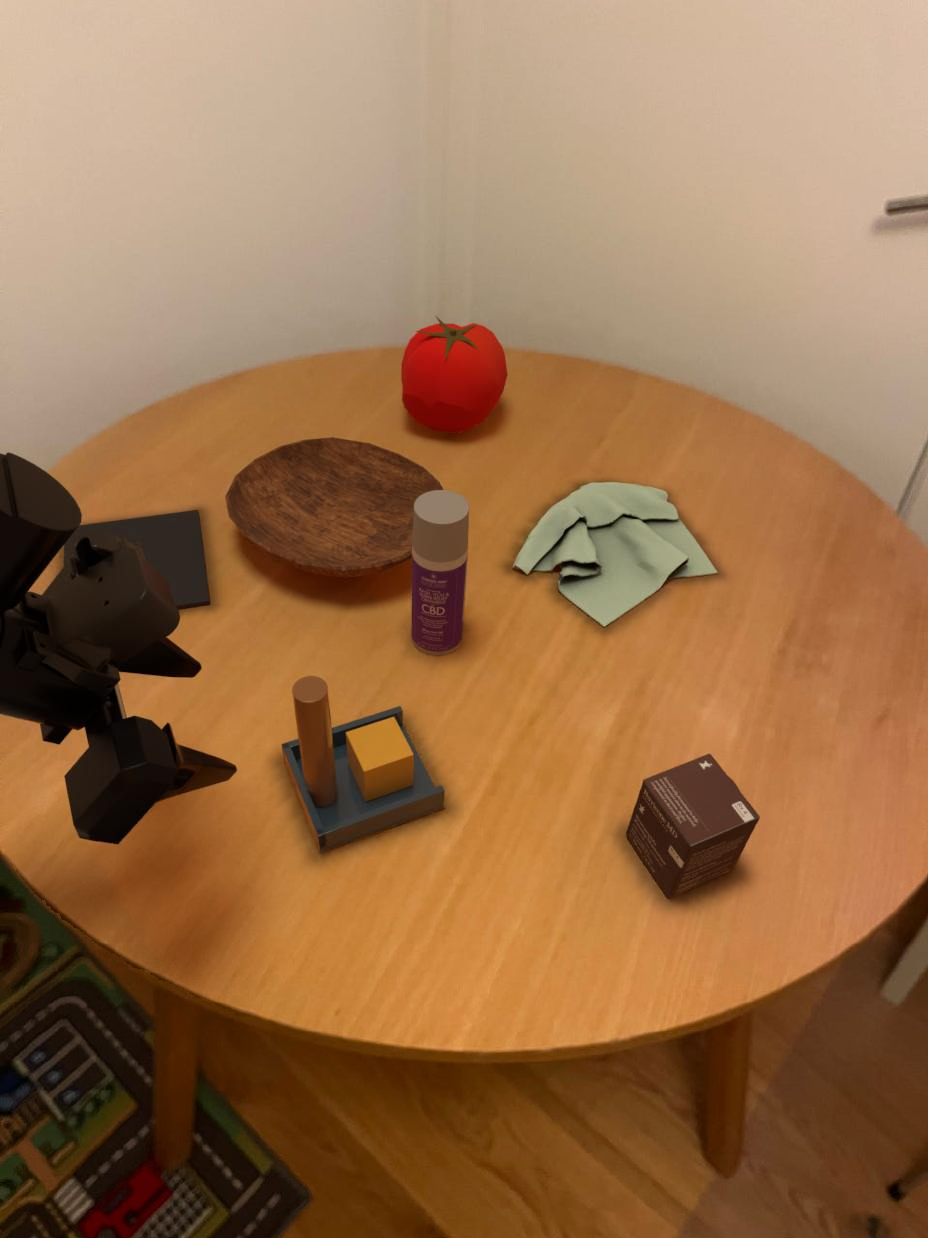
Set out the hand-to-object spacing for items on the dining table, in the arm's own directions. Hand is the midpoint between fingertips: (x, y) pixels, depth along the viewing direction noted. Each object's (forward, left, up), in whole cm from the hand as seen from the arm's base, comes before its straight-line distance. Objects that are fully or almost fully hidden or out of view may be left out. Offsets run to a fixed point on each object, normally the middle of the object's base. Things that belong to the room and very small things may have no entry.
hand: (214, 719), depth 60 cm
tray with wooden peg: (+10, +2, -13) cm, 16 cm away
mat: (-7, +32, -13) cm, 35 cm away
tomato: (+30, +51, -13) cm, 61 cm away
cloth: (+39, +24, -13) cm, 48 cm away
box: (+31, -10, -13) cm, 36 cm away
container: (+19, +16, -13) cm, 28 cm away
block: (+11, +2, -12) cm, 17 cm away
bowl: (+13, +32, -13) cm, 37 cm away
